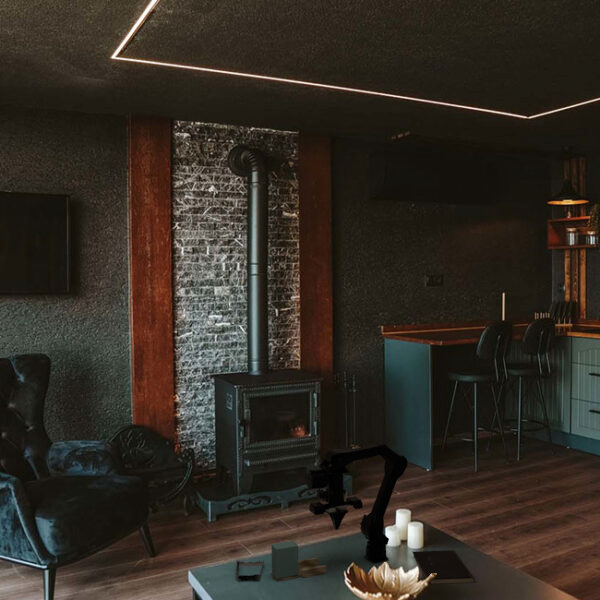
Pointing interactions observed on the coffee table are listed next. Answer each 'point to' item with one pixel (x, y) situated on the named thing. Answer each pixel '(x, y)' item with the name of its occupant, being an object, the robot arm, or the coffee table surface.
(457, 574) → the hardcover book
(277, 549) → the block
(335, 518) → the robot arm
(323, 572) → the chute
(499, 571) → the coffee table surface
